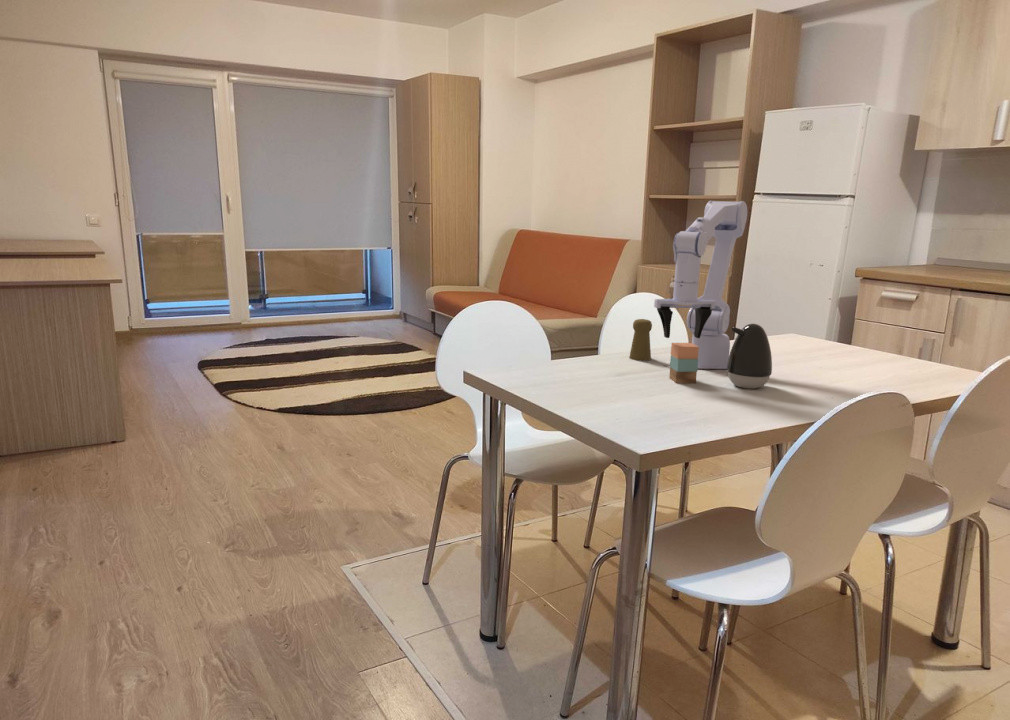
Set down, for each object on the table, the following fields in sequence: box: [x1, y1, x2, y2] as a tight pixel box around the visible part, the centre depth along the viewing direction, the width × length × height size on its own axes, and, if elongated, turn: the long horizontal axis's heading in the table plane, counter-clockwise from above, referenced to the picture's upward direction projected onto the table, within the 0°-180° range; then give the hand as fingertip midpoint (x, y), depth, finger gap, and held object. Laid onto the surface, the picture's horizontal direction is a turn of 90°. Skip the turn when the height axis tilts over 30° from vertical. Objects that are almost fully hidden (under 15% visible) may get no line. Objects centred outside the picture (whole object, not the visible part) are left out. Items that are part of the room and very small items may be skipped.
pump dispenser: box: [726, 323, 773, 390], centre depth 165 cm, size 10×10×15 cm
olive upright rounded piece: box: [628, 318, 653, 362], centre depth 193 cm, size 6×6×11 cm
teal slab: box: [669, 354, 698, 372], centre depth 169 cm, size 5×5×3 cm
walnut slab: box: [668, 366, 698, 384], centre depth 170 cm, size 5×5×3 cm
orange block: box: [670, 342, 699, 359], centre depth 169 cm, size 5×5×3 cm
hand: (681, 337), depth 170 cm, fingers open, 7 cm apart
